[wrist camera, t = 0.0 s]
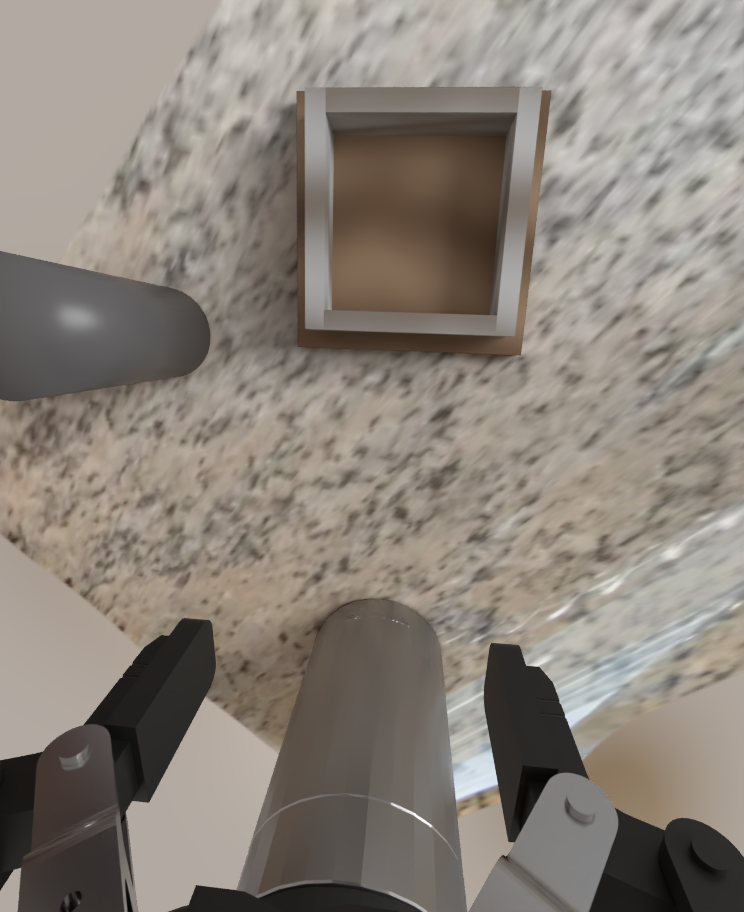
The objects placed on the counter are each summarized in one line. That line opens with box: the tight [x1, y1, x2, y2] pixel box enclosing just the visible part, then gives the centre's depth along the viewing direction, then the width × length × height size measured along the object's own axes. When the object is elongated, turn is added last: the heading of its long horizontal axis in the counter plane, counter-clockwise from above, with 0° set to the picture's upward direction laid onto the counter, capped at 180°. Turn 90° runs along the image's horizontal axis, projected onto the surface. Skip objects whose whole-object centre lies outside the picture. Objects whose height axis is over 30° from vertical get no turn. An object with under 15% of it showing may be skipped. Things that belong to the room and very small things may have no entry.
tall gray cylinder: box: [0, 251, 210, 401], centre depth 23 cm, size 5×5×12 cm
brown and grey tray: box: [297, 87, 551, 355], centre depth 24 cm, size 13×13×4 cm
